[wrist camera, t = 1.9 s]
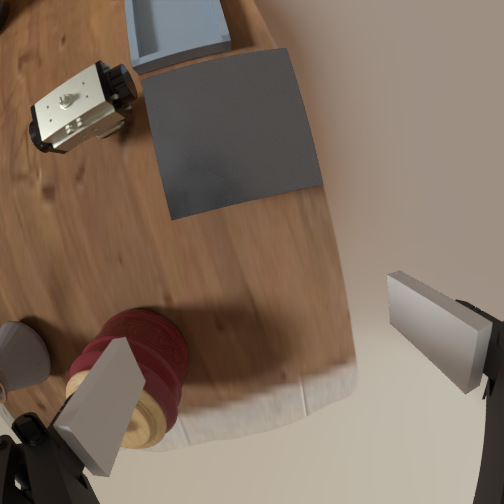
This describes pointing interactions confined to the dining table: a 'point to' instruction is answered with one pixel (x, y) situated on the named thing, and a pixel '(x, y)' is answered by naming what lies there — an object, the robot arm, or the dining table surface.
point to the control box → (230, 132)
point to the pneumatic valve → (83, 108)
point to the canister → (143, 371)
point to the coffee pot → (21, 358)
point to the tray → (174, 31)
